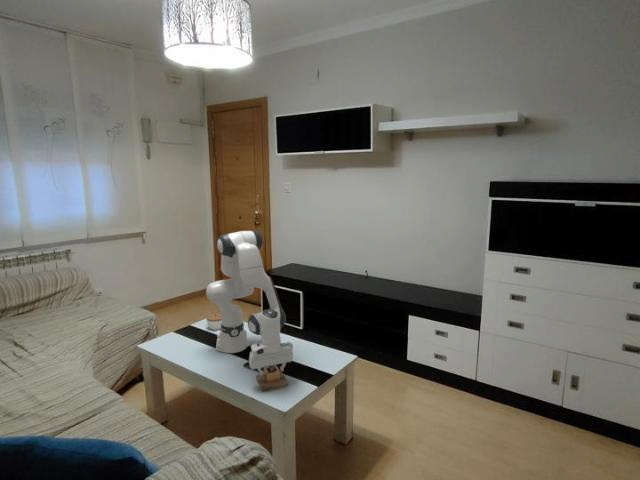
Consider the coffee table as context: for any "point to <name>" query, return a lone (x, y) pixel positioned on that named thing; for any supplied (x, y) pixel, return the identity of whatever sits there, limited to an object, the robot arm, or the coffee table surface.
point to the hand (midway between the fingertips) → (271, 373)
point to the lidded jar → (214, 321)
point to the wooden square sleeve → (271, 375)
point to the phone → (252, 369)
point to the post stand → (271, 386)
